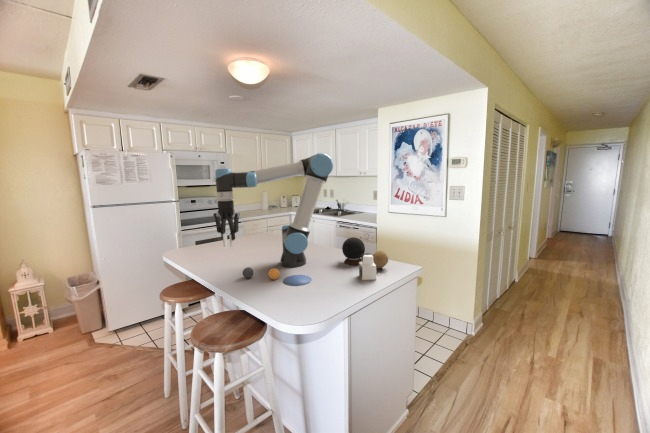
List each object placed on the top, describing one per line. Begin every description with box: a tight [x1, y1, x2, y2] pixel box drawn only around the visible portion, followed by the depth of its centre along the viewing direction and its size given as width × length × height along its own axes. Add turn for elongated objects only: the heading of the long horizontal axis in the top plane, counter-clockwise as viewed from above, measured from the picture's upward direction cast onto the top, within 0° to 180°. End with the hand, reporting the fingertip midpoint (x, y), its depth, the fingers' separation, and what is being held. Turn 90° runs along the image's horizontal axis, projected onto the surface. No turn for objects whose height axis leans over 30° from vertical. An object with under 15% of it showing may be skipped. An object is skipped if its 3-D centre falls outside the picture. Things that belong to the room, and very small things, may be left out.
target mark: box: [282, 274, 312, 287], centre depth 141 cm, size 14×14×1 cm
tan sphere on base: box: [373, 250, 389, 269], centre depth 154 cm, size 9×9×10 cm
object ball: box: [268, 268, 281, 280], centre depth 143 cm, size 6×6×6 cm
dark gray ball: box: [242, 266, 255, 279], centre depth 146 cm, size 6×6×6 cm
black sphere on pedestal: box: [341, 236, 366, 267], centre depth 166 cm, size 13×13×15 cm
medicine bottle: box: [358, 252, 377, 281], centre depth 142 cm, size 7×7×12 cm
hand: (228, 246), depth 146 cm, fingers open, 3 cm apart
